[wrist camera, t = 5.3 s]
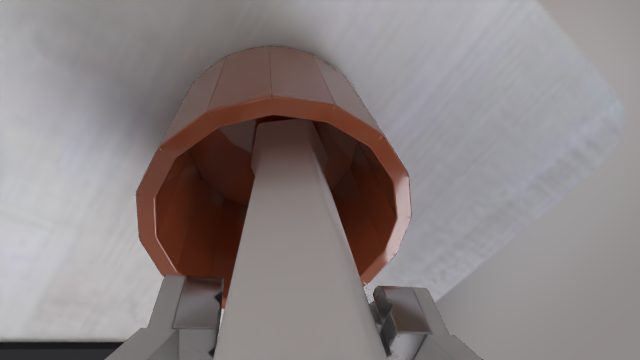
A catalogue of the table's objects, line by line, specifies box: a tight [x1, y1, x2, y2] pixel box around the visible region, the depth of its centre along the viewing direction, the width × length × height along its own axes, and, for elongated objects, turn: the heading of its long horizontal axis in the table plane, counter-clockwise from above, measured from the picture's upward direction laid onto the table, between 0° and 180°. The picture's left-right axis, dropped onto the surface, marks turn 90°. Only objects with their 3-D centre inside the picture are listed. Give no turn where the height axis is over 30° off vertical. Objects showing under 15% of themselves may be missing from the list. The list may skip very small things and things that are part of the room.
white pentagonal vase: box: [213, 119, 388, 360], centre depth 11 cm, size 5×4×15 cm
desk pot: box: [136, 46, 412, 309], centre depth 16 cm, size 10×10×7 cm
